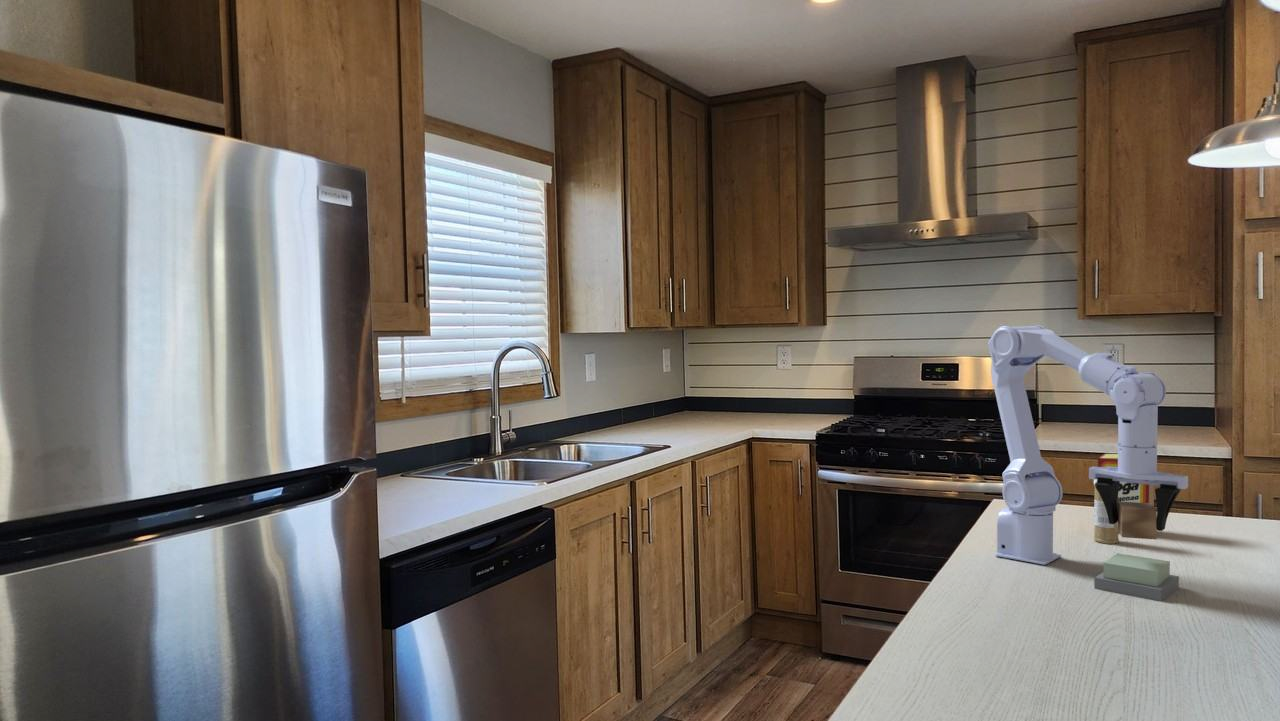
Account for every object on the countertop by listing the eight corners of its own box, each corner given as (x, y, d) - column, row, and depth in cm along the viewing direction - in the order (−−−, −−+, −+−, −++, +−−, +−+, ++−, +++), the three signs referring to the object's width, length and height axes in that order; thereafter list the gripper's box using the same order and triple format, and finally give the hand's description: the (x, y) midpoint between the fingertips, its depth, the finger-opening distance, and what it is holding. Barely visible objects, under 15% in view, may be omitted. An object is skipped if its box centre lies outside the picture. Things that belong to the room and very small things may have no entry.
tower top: (1103, 577, 149) (1103, 562, 149) (1117, 567, 155) (1117, 553, 155) (1157, 586, 144) (1157, 571, 144) (1169, 576, 149) (1169, 561, 149)
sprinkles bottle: (1123, 542, 179) (1123, 475, 178) (1111, 545, 177) (1111, 478, 176) (1100, 537, 183) (1101, 472, 182) (1088, 540, 180) (1089, 475, 180)
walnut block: (1122, 537, 148) (1122, 507, 147) (1117, 530, 152) (1117, 501, 152) (1156, 539, 146) (1156, 509, 146) (1150, 532, 150) (1150, 503, 150)
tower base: (1094, 592, 149) (1094, 577, 149) (1114, 579, 156) (1114, 565, 156) (1160, 605, 142) (1161, 589, 142) (1178, 590, 149) (1178, 576, 149)
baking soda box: (1153, 530, 188) (1154, 455, 187) (1148, 537, 183) (1149, 459, 182) (1103, 525, 194) (1104, 452, 193) (1097, 531, 189) (1098, 456, 188)
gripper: (1193, 446, 146) (1192, 528, 147) (1099, 439, 156) (1098, 515, 157) (1181, 451, 141) (1180, 536, 142) (1084, 443, 151) (1084, 522, 152)
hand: (1136, 526), depth 149 cm, fingers closed on walnut block, 7 cm apart
